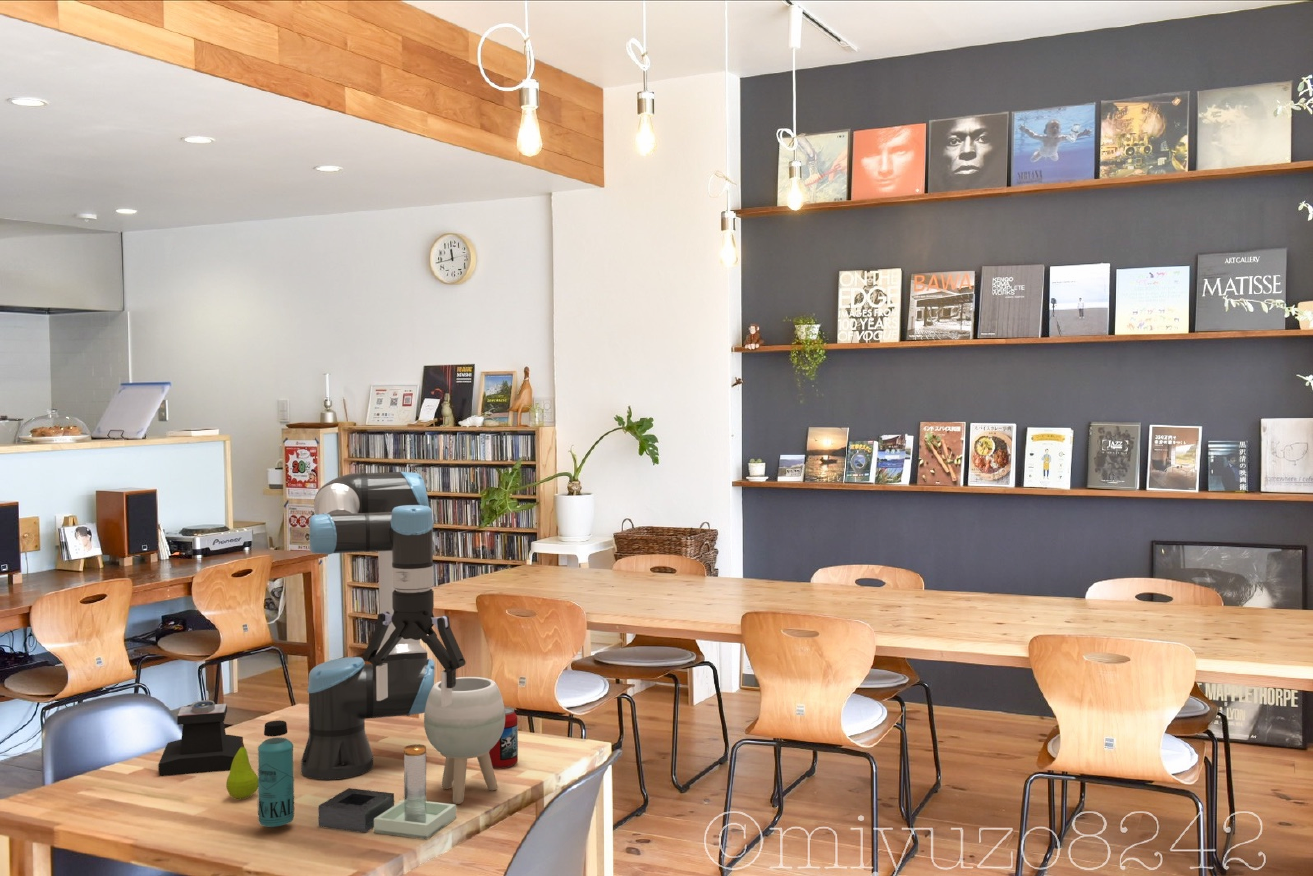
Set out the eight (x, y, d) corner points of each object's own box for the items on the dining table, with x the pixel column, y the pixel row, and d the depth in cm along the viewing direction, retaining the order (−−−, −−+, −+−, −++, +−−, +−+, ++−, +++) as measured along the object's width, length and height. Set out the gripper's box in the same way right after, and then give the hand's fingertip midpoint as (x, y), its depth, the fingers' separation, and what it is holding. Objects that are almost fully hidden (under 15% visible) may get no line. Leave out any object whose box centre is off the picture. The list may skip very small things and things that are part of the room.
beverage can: (512, 770, 240) (511, 715, 239) (482, 768, 241) (481, 713, 241) (522, 760, 246) (521, 706, 246) (493, 759, 248) (492, 705, 247)
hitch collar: (318, 827, 208) (318, 805, 208) (349, 808, 218) (348, 788, 217) (365, 833, 205) (365, 811, 205) (394, 814, 215) (393, 793, 214)
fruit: (245, 804, 220) (244, 744, 220) (219, 801, 222) (218, 742, 222) (265, 794, 226) (264, 735, 226) (239, 791, 228) (238, 732, 228)
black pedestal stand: (156, 716, 236) (167, 692, 250) (159, 781, 237) (170, 754, 252) (236, 710, 240) (242, 687, 254) (238, 774, 242) (244, 748, 256)
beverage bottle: (263, 822, 210) (261, 717, 210) (299, 821, 211) (297, 716, 210) (253, 836, 204) (251, 727, 203) (290, 834, 204) (289, 726, 204)
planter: (519, 785, 230) (518, 677, 230) (482, 812, 215) (481, 697, 215) (450, 777, 236) (449, 672, 235) (409, 803, 220) (408, 690, 220)
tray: (374, 832, 205) (373, 818, 205) (405, 812, 216) (404, 798, 215) (427, 839, 202) (426, 825, 202) (456, 818, 212) (456, 804, 212)
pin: (411, 817, 211) (411, 743, 211) (430, 819, 210) (429, 745, 210) (400, 824, 207) (400, 749, 207) (419, 827, 206) (419, 751, 206)
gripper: (343, 588, 208) (344, 701, 208) (463, 596, 200) (464, 713, 201) (365, 582, 215) (367, 691, 216) (482, 589, 207) (483, 702, 208)
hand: (414, 702), depth 208 cm, fingers open, 13 cm apart
